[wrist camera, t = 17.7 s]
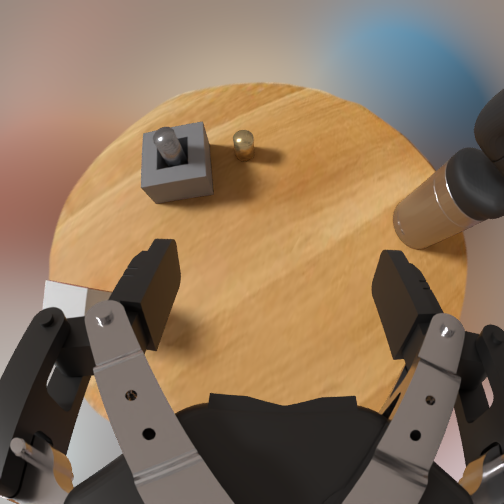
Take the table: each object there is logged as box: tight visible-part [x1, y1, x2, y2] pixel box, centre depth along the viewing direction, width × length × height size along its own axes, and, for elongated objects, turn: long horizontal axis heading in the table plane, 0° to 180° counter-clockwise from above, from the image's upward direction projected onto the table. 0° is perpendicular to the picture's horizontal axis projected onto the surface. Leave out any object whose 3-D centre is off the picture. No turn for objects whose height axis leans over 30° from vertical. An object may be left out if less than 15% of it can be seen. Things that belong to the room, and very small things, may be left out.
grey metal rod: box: [153, 127, 188, 167], centre depth 43 cm, size 3×3×12 cm
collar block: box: [141, 122, 213, 204], centre depth 45 cm, size 10×10×7 cm
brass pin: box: [233, 130, 254, 161], centre depth 47 cm, size 3×3×5 cm
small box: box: [43, 280, 112, 318], centre depth 38 cm, size 8×6×13 cm
